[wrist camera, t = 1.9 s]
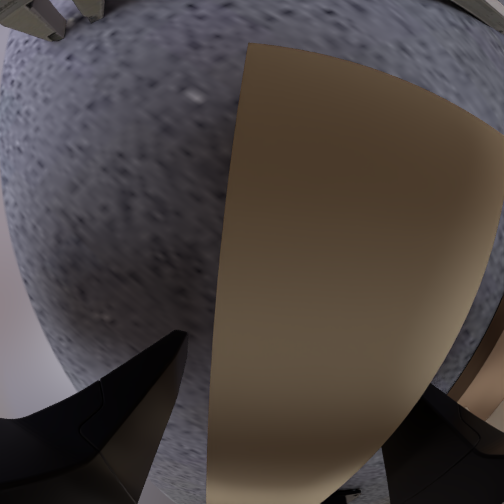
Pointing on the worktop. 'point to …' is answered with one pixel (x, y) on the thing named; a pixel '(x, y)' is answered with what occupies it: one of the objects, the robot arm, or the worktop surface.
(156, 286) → the worktop surface
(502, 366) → the walnut board
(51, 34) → the caliper
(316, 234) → the maple slat
